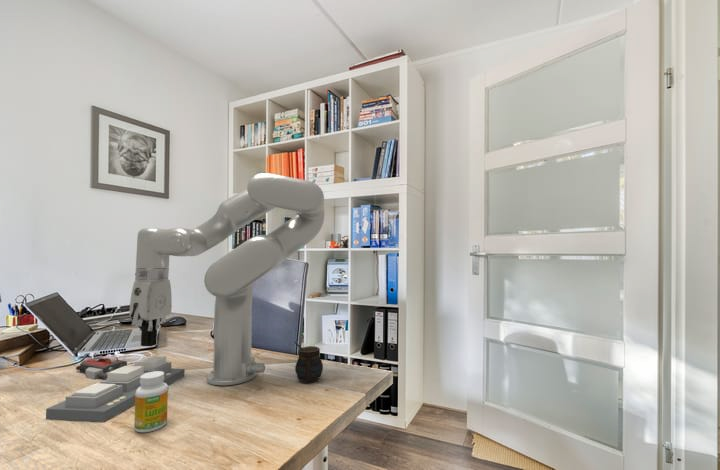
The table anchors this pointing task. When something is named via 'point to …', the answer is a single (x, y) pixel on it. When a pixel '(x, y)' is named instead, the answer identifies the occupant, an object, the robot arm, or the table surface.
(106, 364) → the walkie-talkie
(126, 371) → the button
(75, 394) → the button
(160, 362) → the button
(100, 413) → the button panel
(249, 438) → the table surface
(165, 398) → the supplement bottle
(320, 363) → the mate gourd
